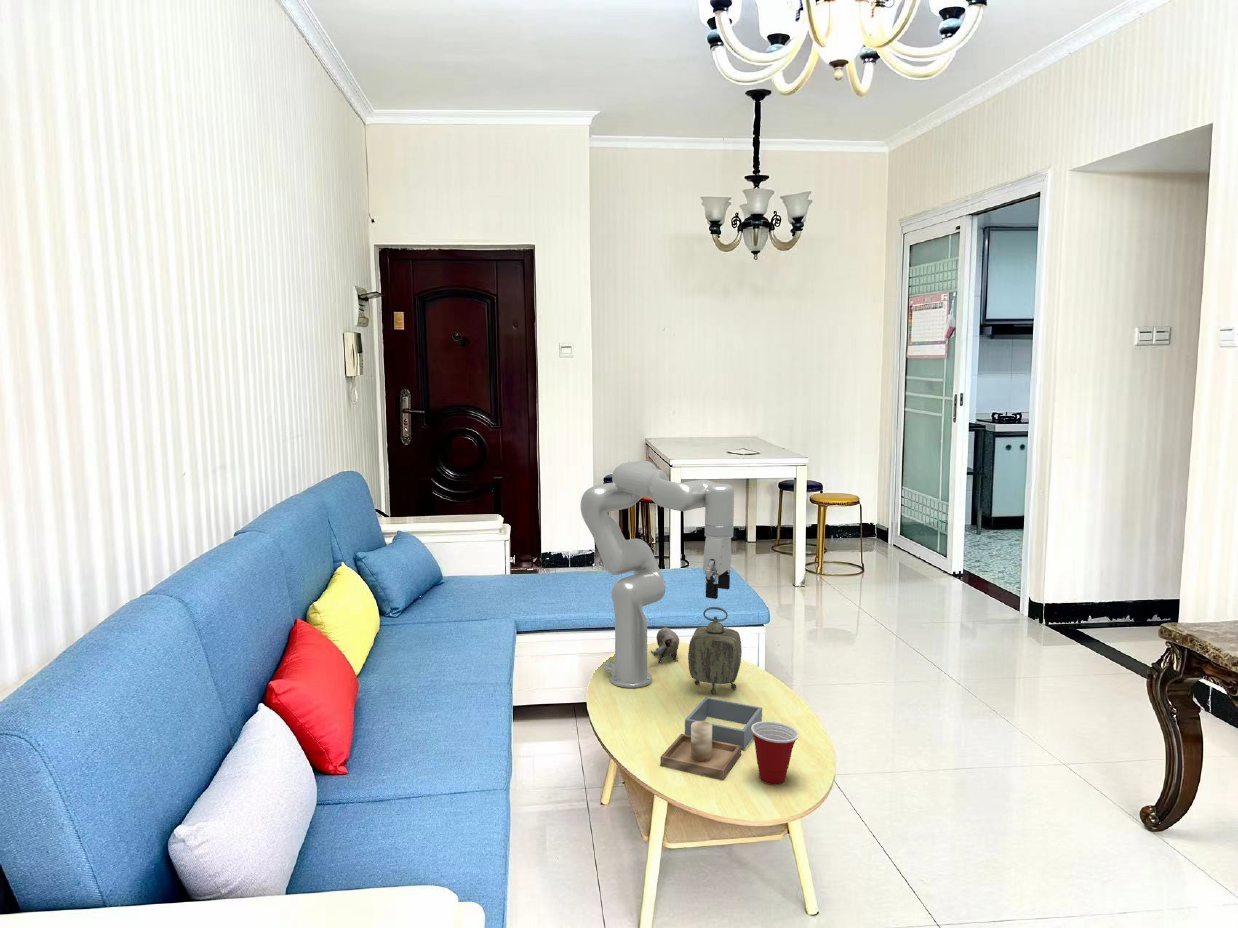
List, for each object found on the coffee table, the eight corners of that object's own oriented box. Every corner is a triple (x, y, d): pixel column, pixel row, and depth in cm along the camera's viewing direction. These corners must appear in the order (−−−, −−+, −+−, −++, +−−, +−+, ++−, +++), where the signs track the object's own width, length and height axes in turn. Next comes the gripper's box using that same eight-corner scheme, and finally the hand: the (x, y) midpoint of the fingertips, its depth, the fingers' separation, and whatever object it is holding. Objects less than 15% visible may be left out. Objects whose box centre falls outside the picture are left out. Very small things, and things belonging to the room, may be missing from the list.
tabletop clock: (740, 687, 249) (742, 604, 246) (737, 700, 241) (739, 614, 237) (691, 682, 253) (692, 601, 249) (686, 694, 244) (687, 610, 241)
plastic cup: (806, 786, 193) (807, 736, 192) (762, 793, 190) (763, 742, 188) (783, 764, 203) (785, 716, 202) (742, 770, 200) (743, 722, 199)
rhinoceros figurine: (683, 641, 281) (677, 613, 271) (682, 677, 271) (675, 650, 261) (660, 642, 282) (653, 614, 272) (657, 678, 272) (650, 651, 262)
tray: (660, 765, 203) (660, 756, 202) (681, 742, 215) (681, 733, 214) (723, 780, 196) (723, 770, 196) (741, 754, 208) (741, 746, 208)
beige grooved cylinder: (688, 759, 204) (688, 727, 203) (695, 750, 209) (695, 719, 207) (707, 763, 202) (708, 731, 201) (714, 754, 206) (714, 723, 205)
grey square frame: (684, 738, 217) (684, 719, 216) (705, 714, 231) (705, 697, 230) (744, 750, 210) (744, 731, 210) (761, 725, 224) (762, 707, 224)
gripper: (716, 523, 235) (715, 583, 238) (694, 535, 220) (693, 600, 222) (742, 525, 232) (741, 586, 234) (721, 538, 217) (720, 603, 219)
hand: (717, 593), depth 228 cm, fingers open, 9 cm apart
